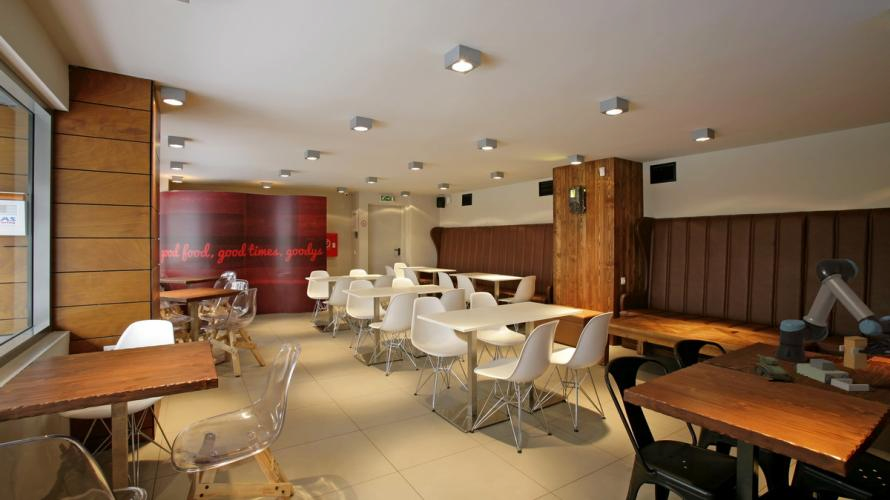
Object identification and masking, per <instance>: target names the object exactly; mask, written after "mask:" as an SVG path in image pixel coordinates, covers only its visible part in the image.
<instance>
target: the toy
mask: <svg viewBox="0 0 890 500" xmlns="http://www.w3.org/2000/svg"><path fill="white" fill-rule="evenodd" d="M756 357H758V358H759V362H756V363H755V364H757V365H755V366H754V374H755V375H756V374H757V375H756V376H758V375H761V376H765V377H768V378H772V379H778V380H777V381H782V380H784V381H790V382H791V376H790V375H789V374H790V373H789V372H787V371H786V369H784V368H783V367H782V366H780V365H779V360H778V359H776V358H774V357H772V356H763V355H760V354H759V353H758V354H756ZM784 381H783V382H784Z"/></svg>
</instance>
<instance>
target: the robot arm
mask: <svg viewBox="0 0 890 500" xmlns="http://www.w3.org/2000/svg"><path fill="white" fill-rule="evenodd" d="M813 270H814V275H815V277H816V278H817V280H818V281H819V282H820V283H821V286H820V288H819V290H818V293H817V295H816V297H815V299H814V301H813V302H812V305H811V308H810V310H809V312H808V314H807V315H805V316H803V318H802V320H799V319H785V320H782V321H781V322H780V326H779V341H778V343H779V345H778V347H777V349H776V351H775V353H774V357H775V358H777V359H780V360H783V361H786V362H787V361H788V362H795V363H806V362H807V358H808V357H807V355H806V352H805V348H804V347H805V346H804V345H805V342H820V341H824V340H825V339H826V338H827V336H828V334H829V330H828V327H827V326H828V323H827V322H826V320H827V318H828V316H829V314H830V313H831V310H832V308H833V306H834V304H835V302H836V300H839V302H840V303H841V304H842V305H843V306H844V307H845V309H846V310H847V311H848V312H849V313H850V314H851V315H852V316H853V318H855V319H856V321H857V322H858V323H859V325H858V327H859V330H860V332H861V333H863V334H864V335H867V336H881V335H882V336H887V338H888V339H878V340H875V341H874V342H873V343H871V342H869V343H867V347H865V350H864V348H853V349H851V354H864V353H865V354H867V355H871V356H876V355H880V356H890V315H887V316H882V317H880V318H878V317H877V316H876V315H875V313H874V312H873V311H872V310H871V308H869V307H868V306H867V305H866V304H865V303H864V302H863V300H861V298H860V297H859V296H858V295H857V294H856V293H855V292H854V290H853V289H851V287H850V286H849V285H848V283H849V281H850V280H852V279H855V278H856V277H857V275H858V273H859V268H858V266H857V264H856V263H855V262H854V261H852V260H850V259H844V258H838V259H837V258H823V259H820V260H819V261H818V262H817V263H816V264H815V266H814V269H813ZM839 352H844V344H842V345H839Z"/></svg>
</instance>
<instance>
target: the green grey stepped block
mask: <svg viewBox="0 0 890 500" xmlns="http://www.w3.org/2000/svg"><path fill="white" fill-rule="evenodd" d="M793 370H794V371H795V372H796V373H797V374H799V373H800V374H799V375H802V374H803V375H802V376H804V377H805V376H806V377H807V376H808V378H811V379H813V380H816V381H818V382H821V383H823V384H830V385H831V386H834V387H837V388H838V389H842V390H845V391H847V392H869V391H870V384H868V383H867V384H866V383H865V384H864V383H863V384H862V383H861V384H859V383H858V384H856V383H853V378H852V377H851V376H849V374H850V373H849V372H846V371H842V370H841V369H837V368H836V362H833V361H830V360H827V359H824V358H810V361H809V363H797V364H795V365H794V367H793Z"/></svg>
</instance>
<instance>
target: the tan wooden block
mask: <svg viewBox="0 0 890 500" xmlns="http://www.w3.org/2000/svg"><path fill="white" fill-rule="evenodd" d="M843 340H844V341H843V342H844V343H843V345H844V351H843V367H846V368H850V369H853V370H860V369H867V364H868V362H867V361H868V360H867V359H868V357H867V355H868V354H865V353H864V354H851V349H853V348H864V350H865V347H867V344H868V338H866V337H862V336H858V335H853V336H852V335H851V336H844V339H843Z"/></svg>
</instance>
